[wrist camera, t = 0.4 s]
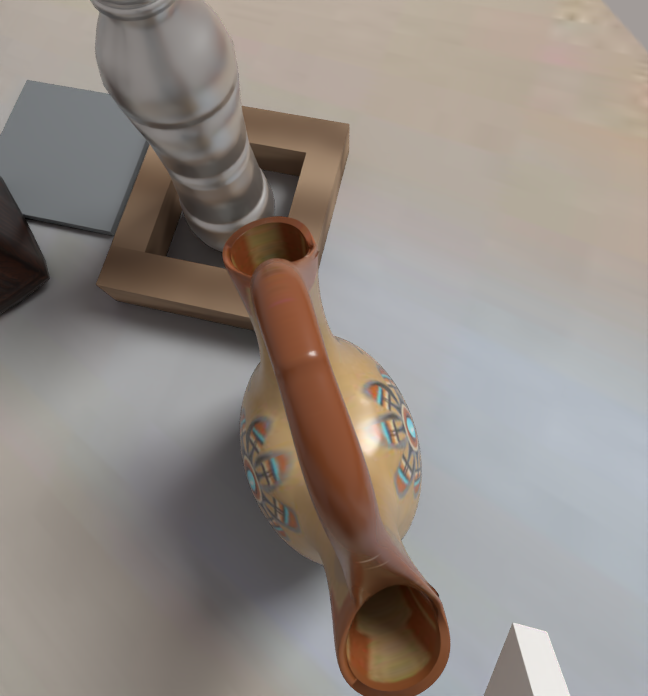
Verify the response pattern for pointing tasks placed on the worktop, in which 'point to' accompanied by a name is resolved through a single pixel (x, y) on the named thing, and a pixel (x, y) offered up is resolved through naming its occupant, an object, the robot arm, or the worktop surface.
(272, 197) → the plastic bottle
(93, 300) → the worktop surface
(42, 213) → the rubber mat
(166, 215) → the brown rectangular frame
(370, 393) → the ceramic vessel
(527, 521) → the worktop surface
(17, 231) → the coffee grinder
